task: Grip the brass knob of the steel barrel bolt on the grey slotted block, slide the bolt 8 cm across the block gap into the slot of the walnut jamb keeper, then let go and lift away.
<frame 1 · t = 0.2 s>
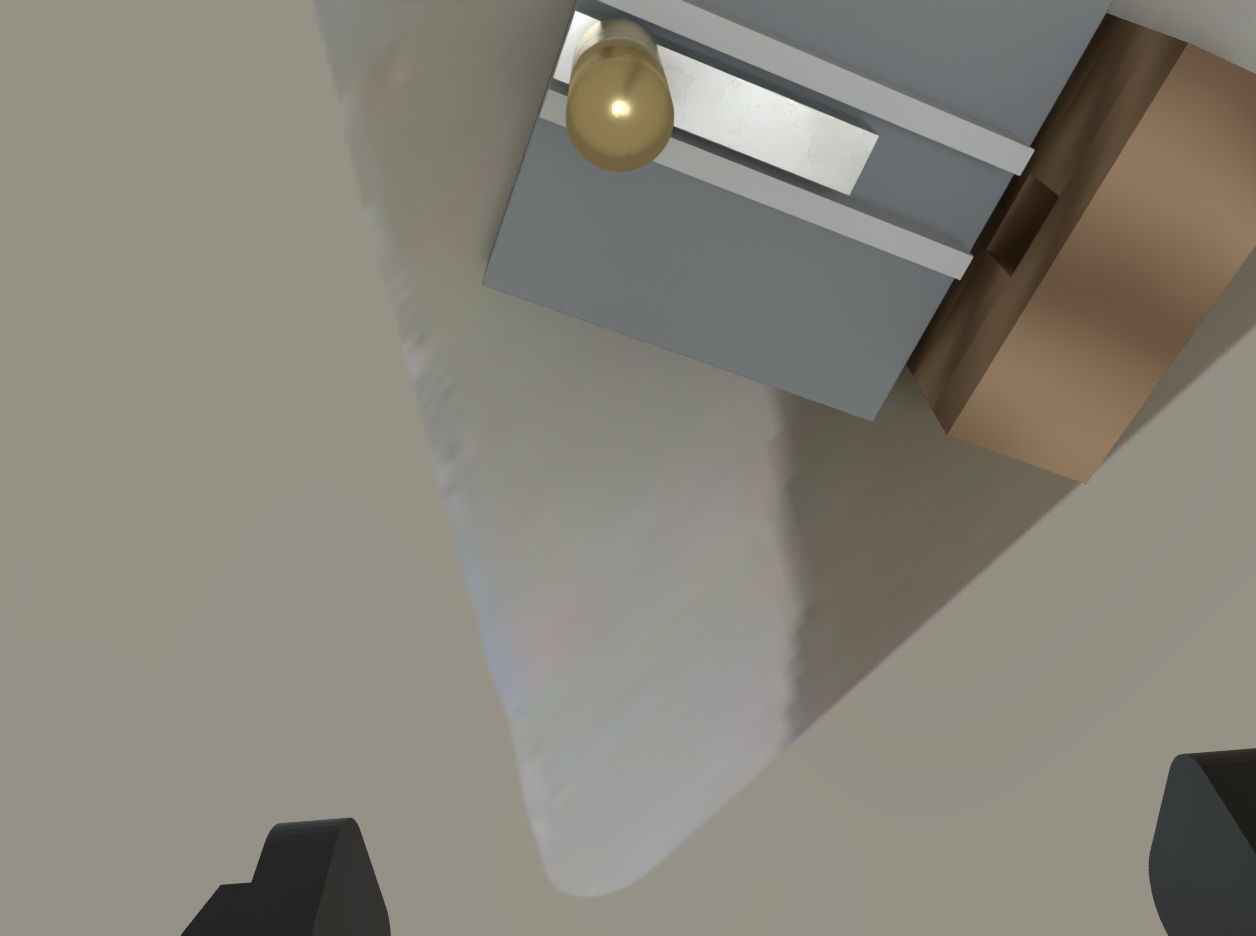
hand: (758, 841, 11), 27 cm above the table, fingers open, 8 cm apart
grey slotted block: (837, 132, 34), on the table
jamb keeper: (1089, 252, 33), on the table
bolt: (726, 126, 27), point 6 cm above the table, slide at 0.0 cm
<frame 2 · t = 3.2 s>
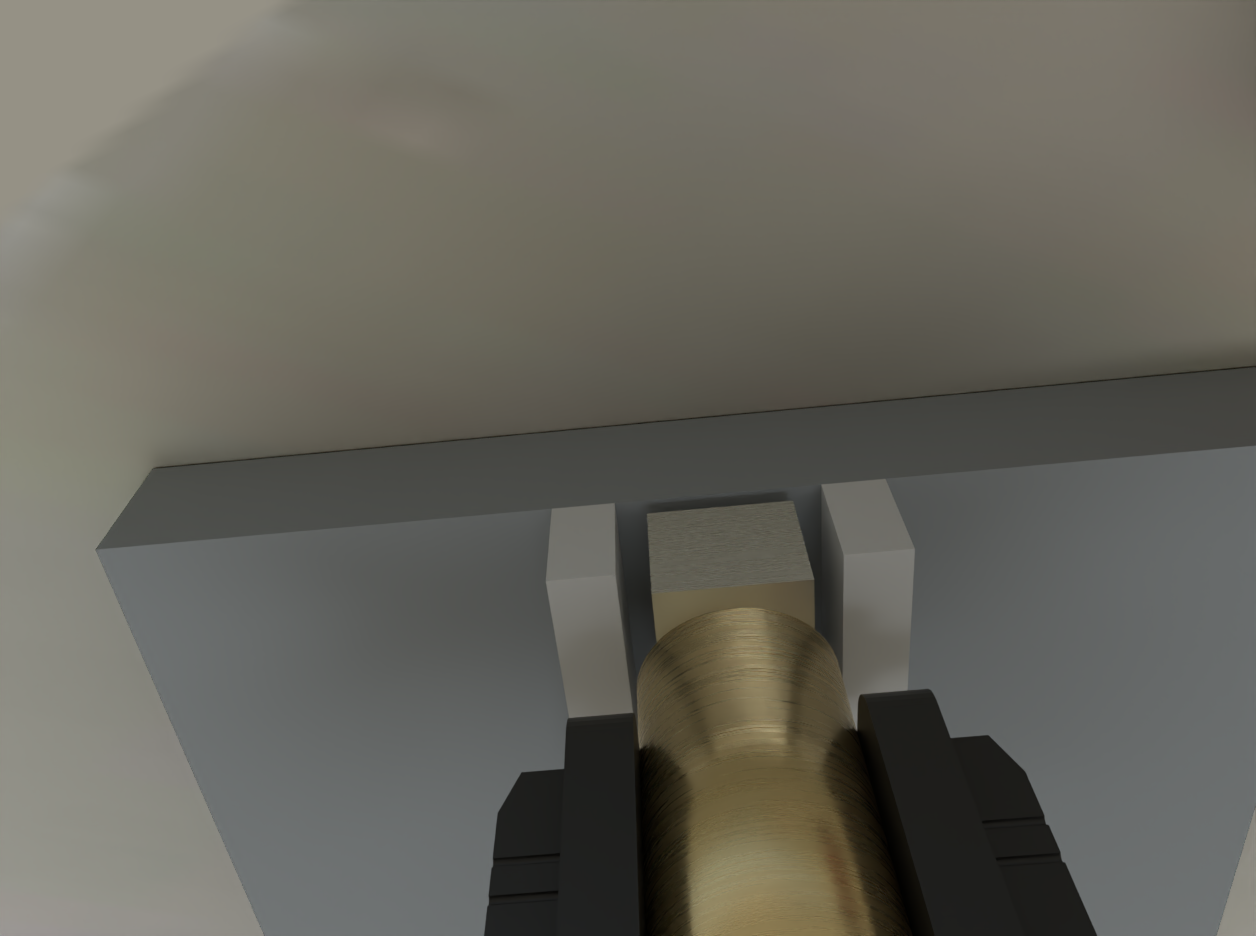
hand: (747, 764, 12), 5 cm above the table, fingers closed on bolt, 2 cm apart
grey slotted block: (733, 842, 20), on the table
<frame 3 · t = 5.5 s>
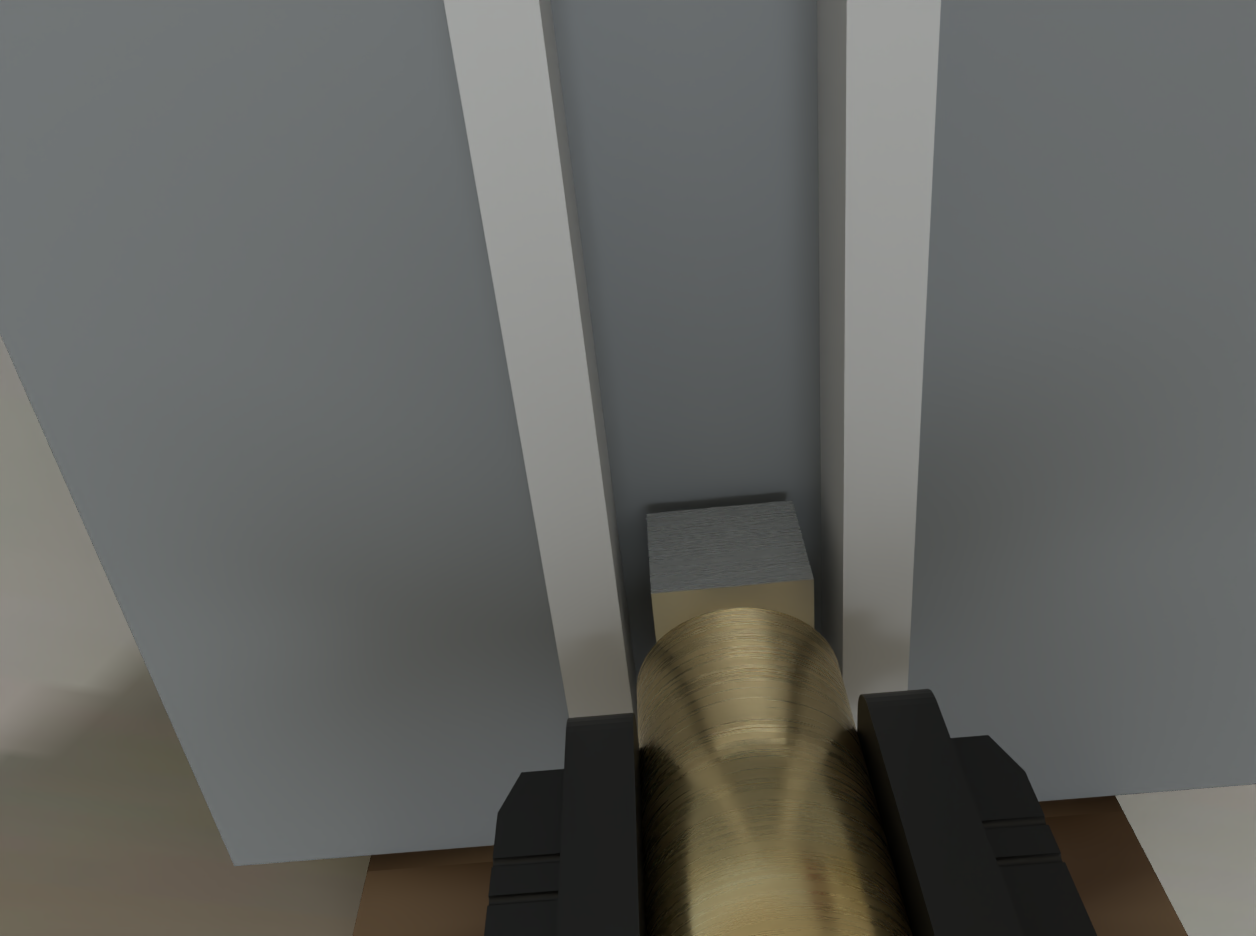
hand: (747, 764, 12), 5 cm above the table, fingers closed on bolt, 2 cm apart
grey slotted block: (709, 486, 16), on the table
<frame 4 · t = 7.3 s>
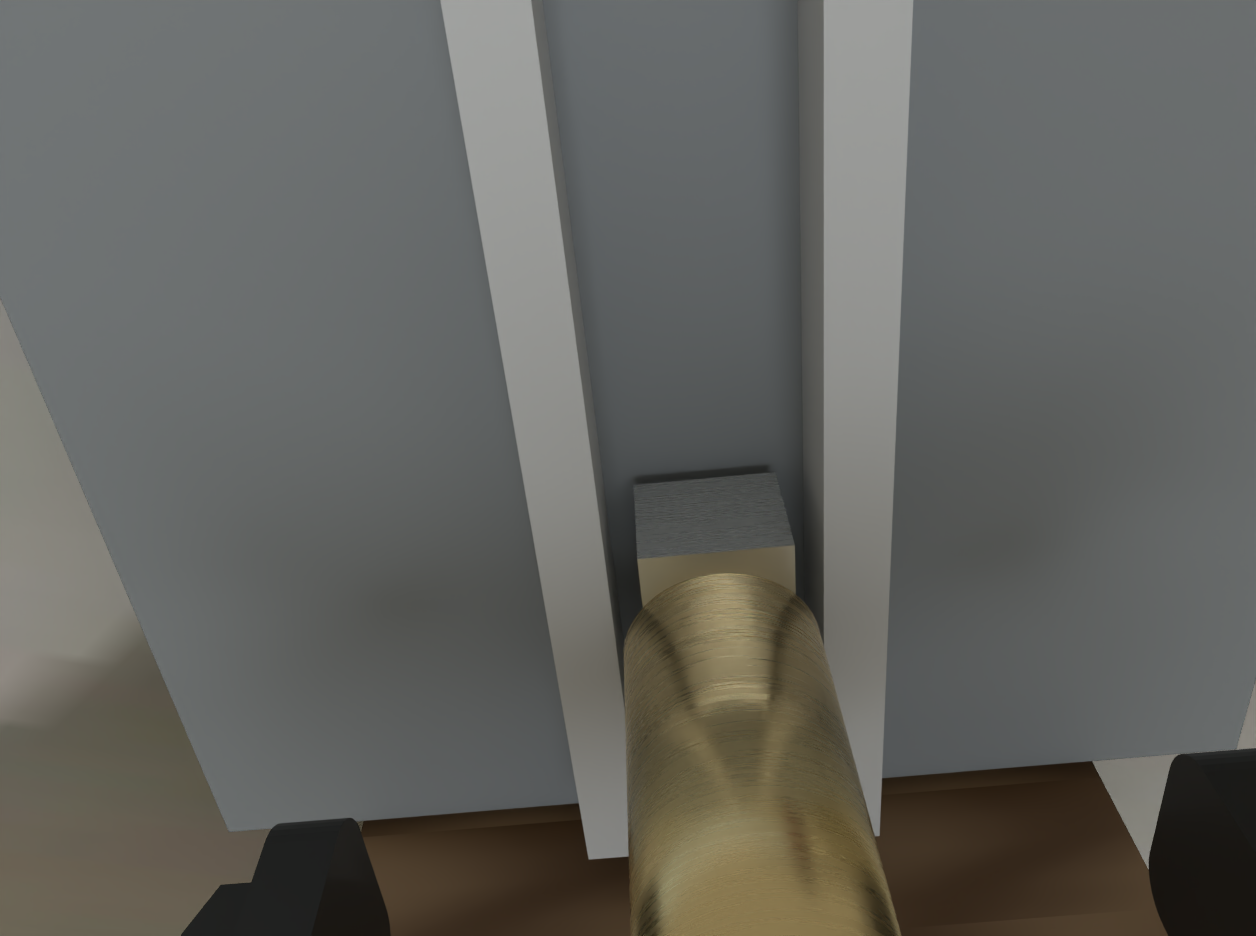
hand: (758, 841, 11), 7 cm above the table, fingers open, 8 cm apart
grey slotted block: (695, 457, 16), on the table
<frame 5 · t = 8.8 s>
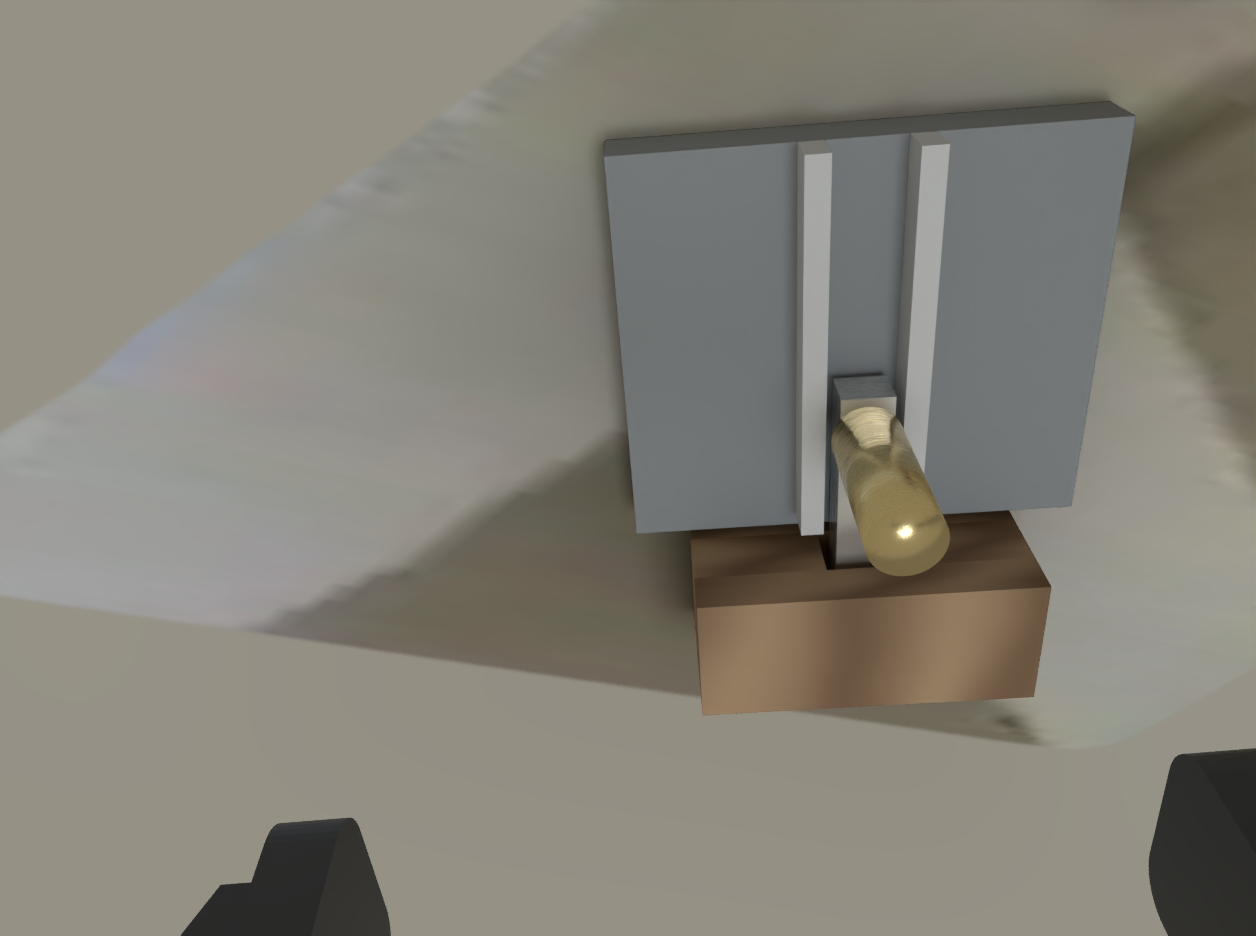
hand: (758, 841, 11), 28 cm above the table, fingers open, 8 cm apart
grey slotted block: (846, 374, 39), on the table
jamb keeper: (854, 600, 40), on the table
bolt: (876, 550, 35), point 6 cm above the table, slide at 7.9 cm
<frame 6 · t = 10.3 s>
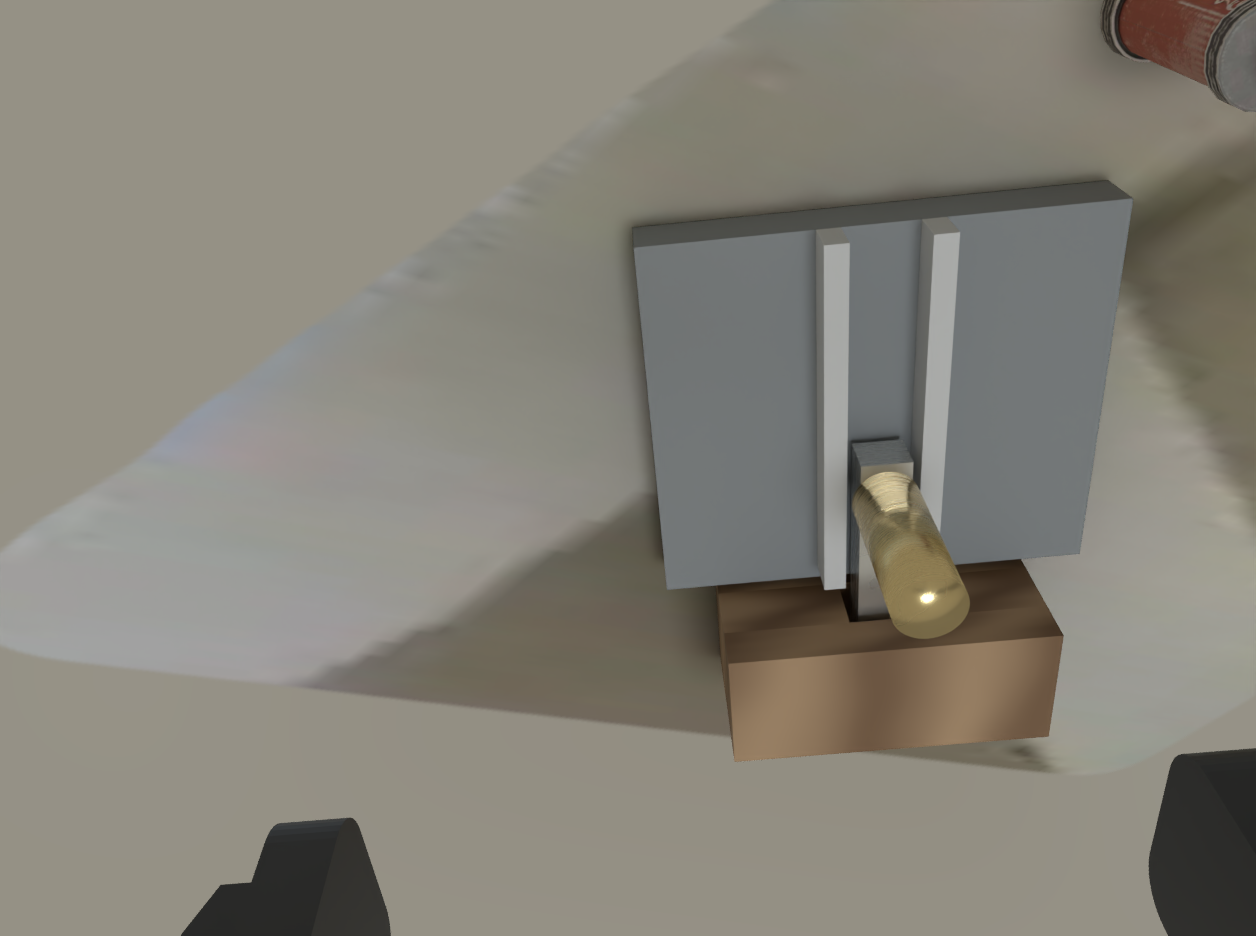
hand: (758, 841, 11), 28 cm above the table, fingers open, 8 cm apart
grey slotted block: (863, 435, 41), on the table
jamb keeper: (875, 647, 42), on the table
bolt: (897, 606, 37), point 6 cm above the table, slide at 7.9 cm
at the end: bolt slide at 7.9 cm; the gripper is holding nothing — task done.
